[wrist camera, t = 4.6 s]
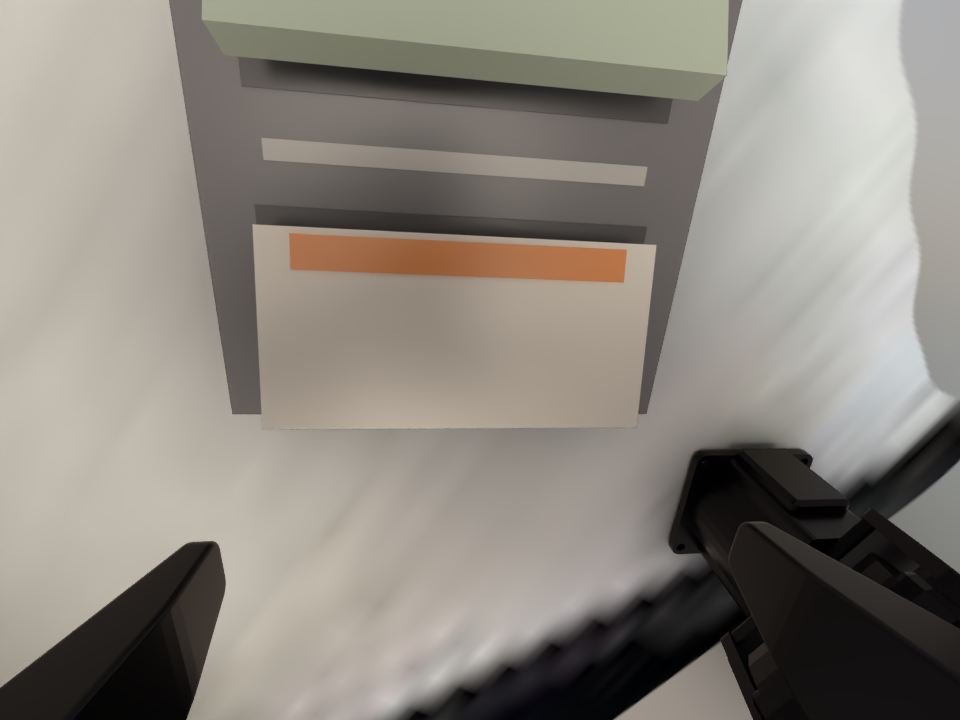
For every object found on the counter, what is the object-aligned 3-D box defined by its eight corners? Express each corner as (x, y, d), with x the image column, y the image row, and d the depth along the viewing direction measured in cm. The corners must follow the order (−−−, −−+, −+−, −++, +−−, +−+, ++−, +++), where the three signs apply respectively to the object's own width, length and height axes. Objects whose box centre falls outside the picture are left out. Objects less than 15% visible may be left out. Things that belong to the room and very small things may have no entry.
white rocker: (613, 410, 18) (637, 428, 16) (279, 410, 16) (260, 430, 14) (630, 247, 17) (658, 244, 15) (272, 229, 15) (251, 224, 13)
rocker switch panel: (618, 382, 22) (647, 415, 19) (257, 378, 20) (231, 415, 17) (736, -209, 15) (813, -296, 12) (170, -319, 12) (97, -460, 10)
